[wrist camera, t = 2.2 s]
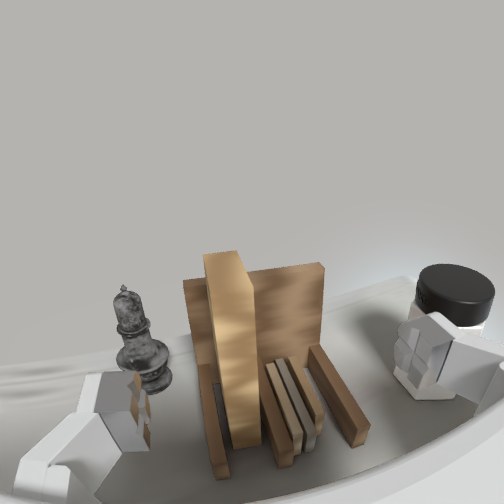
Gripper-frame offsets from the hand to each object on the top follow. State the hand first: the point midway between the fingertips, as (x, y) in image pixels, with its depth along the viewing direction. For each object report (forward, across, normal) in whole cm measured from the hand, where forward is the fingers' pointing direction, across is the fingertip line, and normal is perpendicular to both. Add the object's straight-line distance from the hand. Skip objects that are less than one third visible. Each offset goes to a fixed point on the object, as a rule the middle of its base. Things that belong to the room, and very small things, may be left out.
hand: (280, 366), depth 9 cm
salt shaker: (+20, -9, -18) cm, 29 cm away
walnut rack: (+13, +3, -18) cm, 23 cm away
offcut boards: (+12, +5, -18) cm, 23 cm away
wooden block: (+12, 0, -18) cm, 22 cm away
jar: (+11, +21, -19) cm, 30 cm away
